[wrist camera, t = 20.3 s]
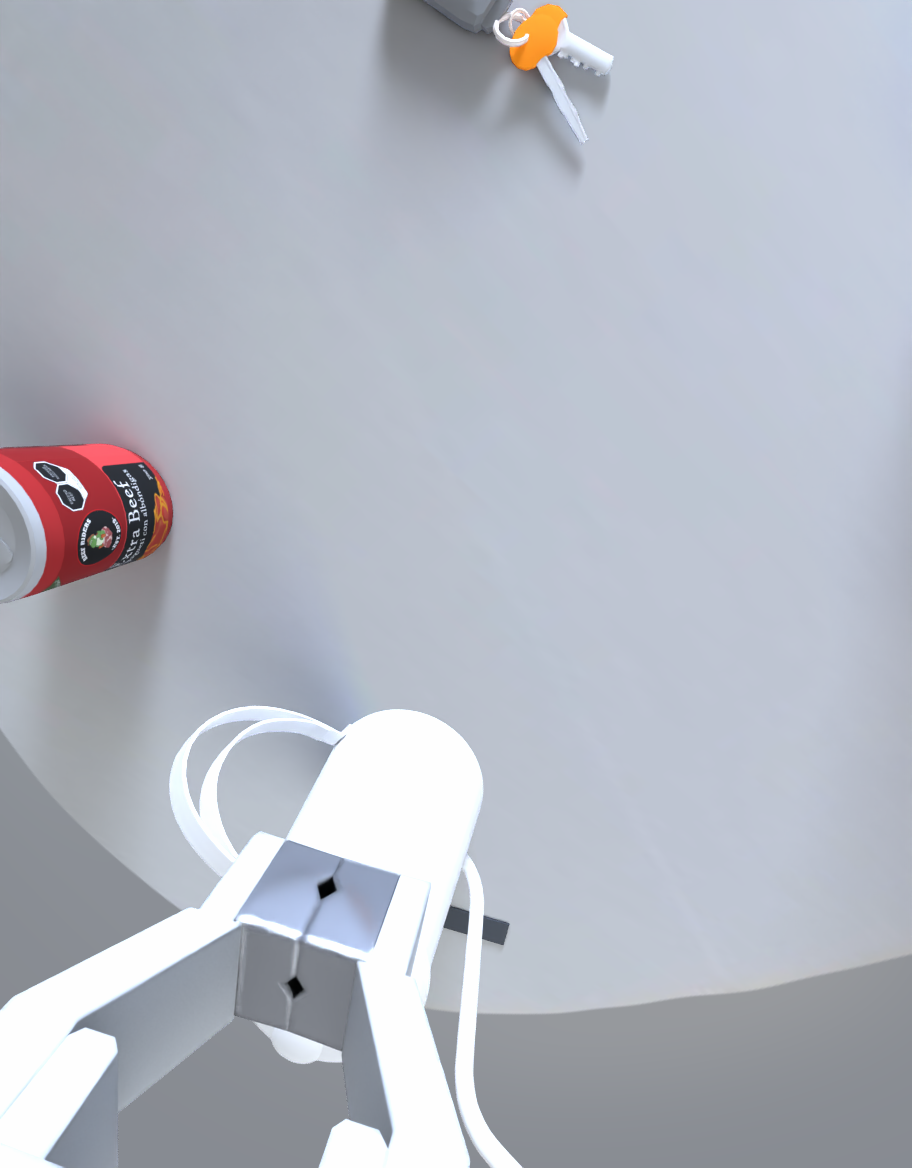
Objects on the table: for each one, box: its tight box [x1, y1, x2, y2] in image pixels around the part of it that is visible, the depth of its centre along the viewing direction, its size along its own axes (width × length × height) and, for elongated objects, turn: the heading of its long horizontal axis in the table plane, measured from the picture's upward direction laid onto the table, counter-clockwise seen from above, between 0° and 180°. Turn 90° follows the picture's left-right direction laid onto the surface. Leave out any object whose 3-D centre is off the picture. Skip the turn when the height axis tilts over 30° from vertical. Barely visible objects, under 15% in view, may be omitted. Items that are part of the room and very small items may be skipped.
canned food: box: [0, 444, 173, 604], centre depth 33 cm, size 8×8×11 cm
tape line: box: [443, 907, 509, 945], centre depth 44 cm, size 18×2×1 cm, turn 79°
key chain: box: [424, 0, 614, 145], centre depth 28 cm, size 13×4×2 cm, turn 52°
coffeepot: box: [169, 706, 522, 1168], centre depth 32 cm, size 11×25×19 cm, turn 46°
